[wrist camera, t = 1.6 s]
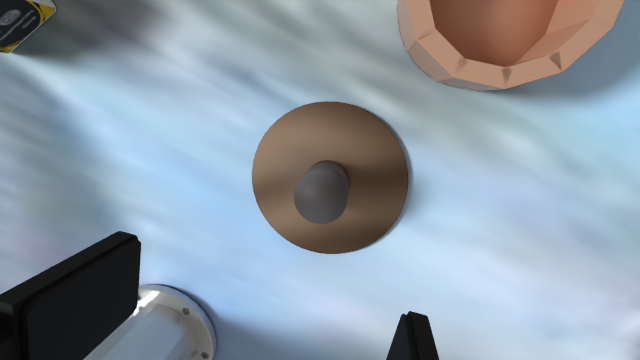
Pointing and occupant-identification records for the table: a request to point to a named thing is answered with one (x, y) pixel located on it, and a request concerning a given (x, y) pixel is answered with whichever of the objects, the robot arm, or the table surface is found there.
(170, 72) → the table surface
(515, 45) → the terracotta bowl
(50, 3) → the medicine bottle
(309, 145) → the walnut lid
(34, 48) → the table surface
